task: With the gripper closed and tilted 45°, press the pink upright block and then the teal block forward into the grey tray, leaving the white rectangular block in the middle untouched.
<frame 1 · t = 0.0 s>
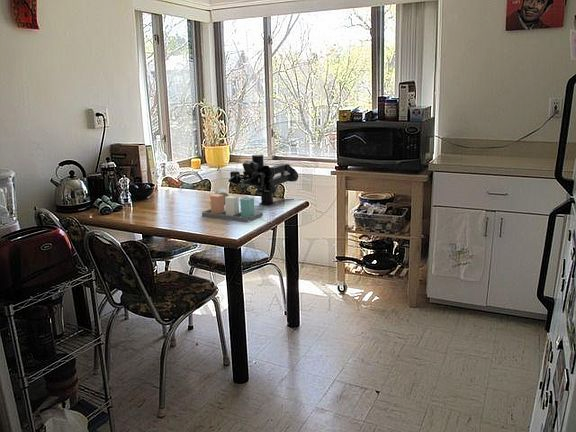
hand: (236, 181, 239), 17 cm above the table, tool horizontal, fingers open, 9 cm apart
teal block: (247, 207, 234), point 6 cm above the table, slide at 0.0 cm
ceramic mug: (225, 203, 269), on the table
white rectangular block: (232, 206, 238), point 6 cm above the table, slide at 0.0 cm
grey tray: (232, 217, 240), on the table
pink upright block: (217, 204, 243), point 6 cm above the table, slide at 0.0 cm
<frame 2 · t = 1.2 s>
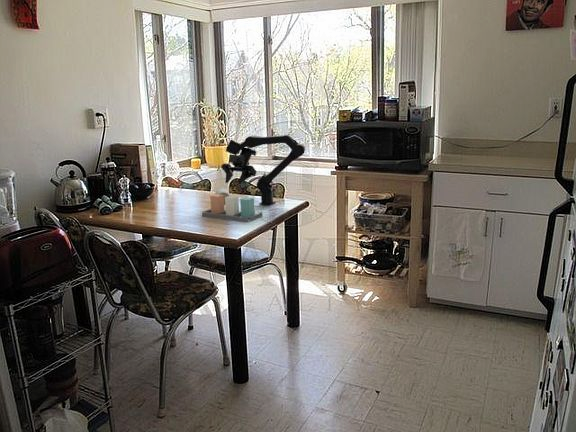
hand: (232, 183, 251), 14 cm above the table, tool tilted 45°, fingers open, 7 cm apart
nothing on the table moved.
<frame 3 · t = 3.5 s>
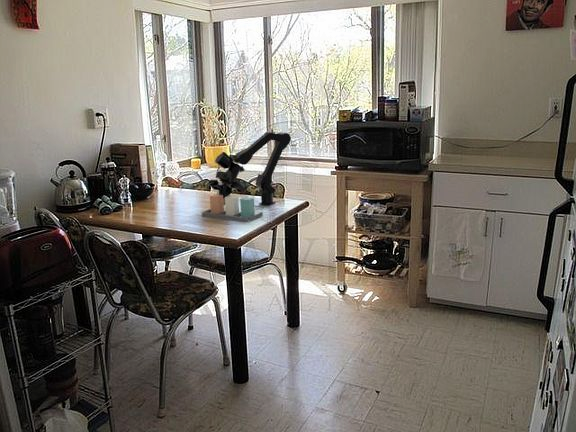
hand: (219, 200, 244), 7 cm above the table, tool tilted 45°, fingers closed, pressing on pink upright block
pink upright block: (216, 204, 243), point 6 cm above the table, slide at 0.4 cm, touching gripper
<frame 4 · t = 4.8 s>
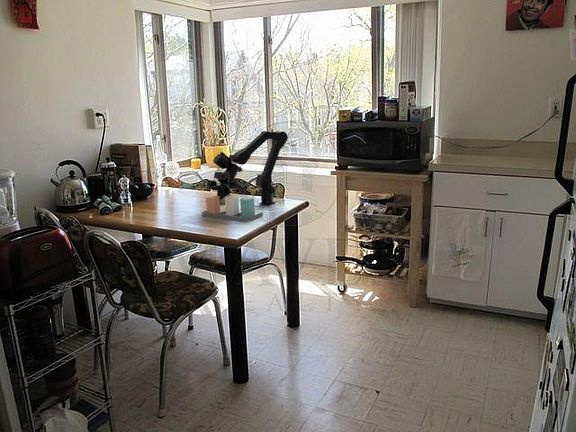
hand: (217, 200, 243), 7 cm above the table, tool tilted 45°, fingers closed
pink upright block: (213, 205, 240), point 6 cm above the table, slide at 3.2 cm
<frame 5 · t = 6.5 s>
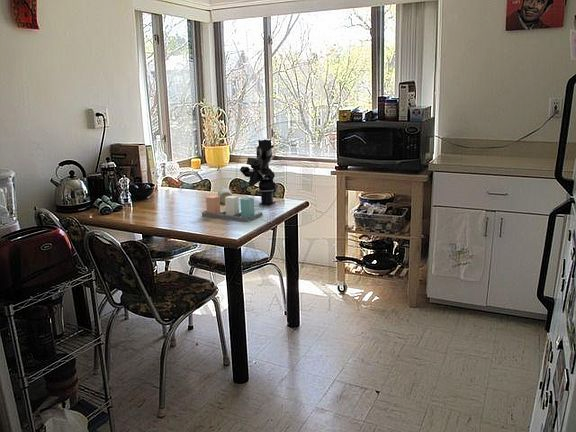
hand: (249, 186, 244), 13 cm above the table, tool tilted 45°, fingers closed
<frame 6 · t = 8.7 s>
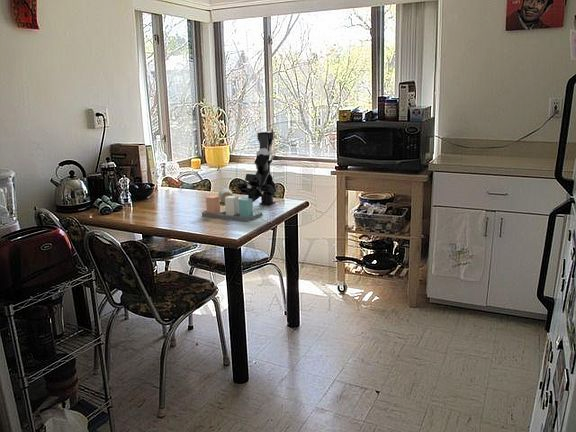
hand: (248, 204, 234), 7 cm above the table, tool tilted 45°, fingers closed, pressing on teal block
teal block: (246, 208, 233), point 6 cm above the table, slide at 1.2 cm, touching gripper
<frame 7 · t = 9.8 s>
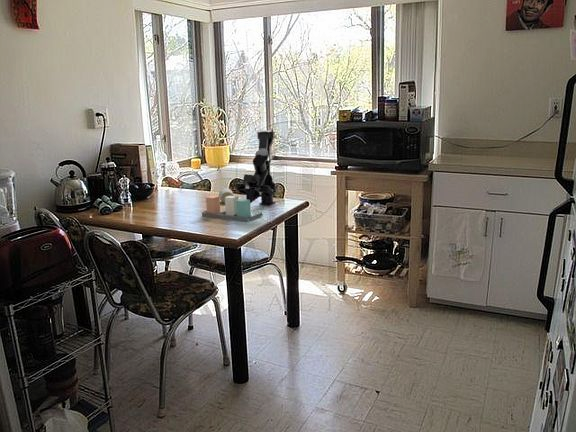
hand: (247, 204, 233), 7 cm above the table, tool tilted 45°, fingers closed
teal block: (243, 209, 231), point 6 cm above the table, slide at 3.2 cm
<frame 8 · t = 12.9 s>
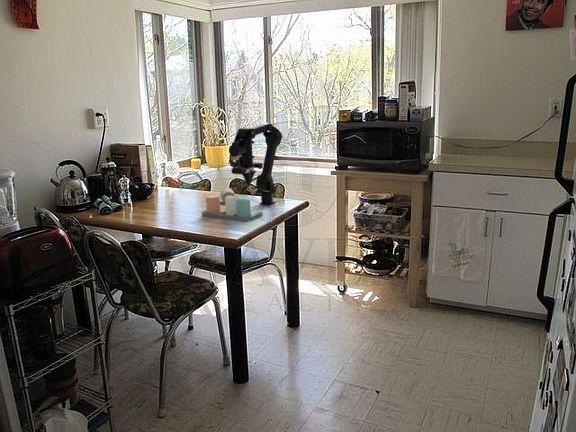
hand: (248, 185, 248), 13 cm above the table, tool pointing down, fingers closed
at the end: pink upright block slide at 3.2 cm; teal block slide at 3.2 cm; white rectangular block slide at 0.0 cm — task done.
